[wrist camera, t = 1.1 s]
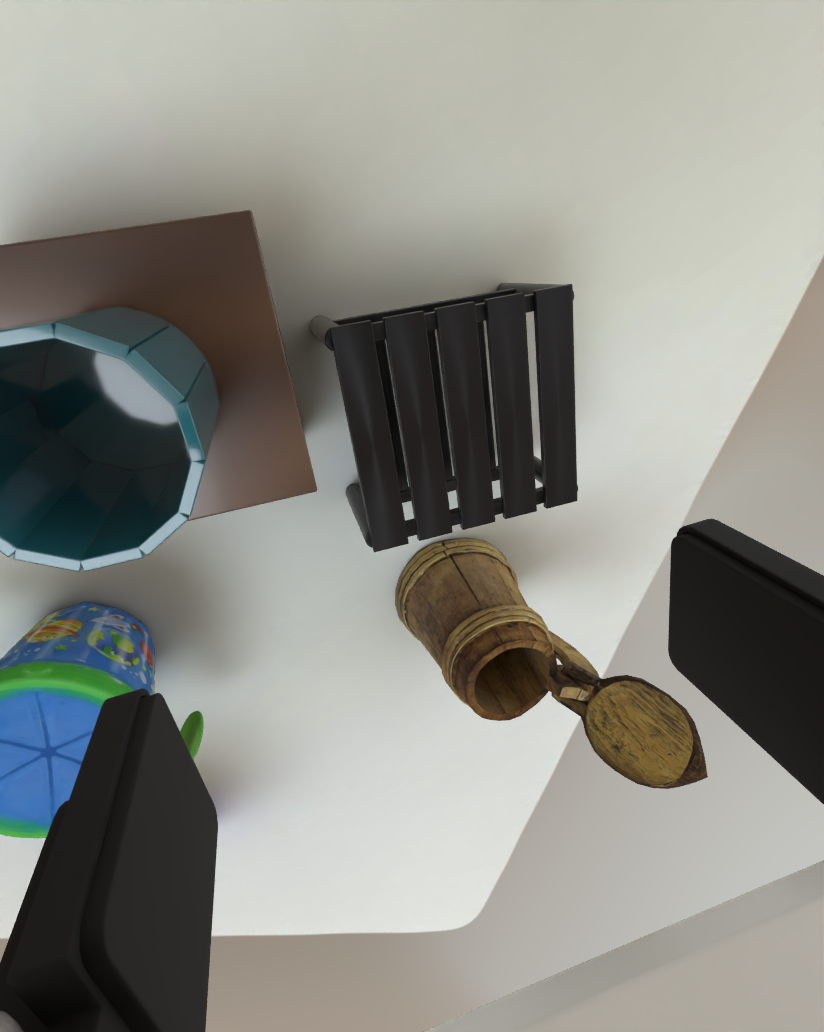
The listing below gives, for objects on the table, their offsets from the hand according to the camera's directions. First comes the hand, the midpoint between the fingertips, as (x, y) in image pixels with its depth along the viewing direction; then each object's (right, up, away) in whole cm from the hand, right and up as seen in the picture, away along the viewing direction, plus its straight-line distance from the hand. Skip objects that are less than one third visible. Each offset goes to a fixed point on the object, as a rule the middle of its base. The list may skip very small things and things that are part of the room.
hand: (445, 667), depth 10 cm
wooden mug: (+5, -3, +34) cm, 35 cm away
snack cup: (-22, -6, +28) cm, 36 cm away
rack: (0, +11, +27) cm, 29 cm away
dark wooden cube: (-15, +11, +22) cm, 29 cm away
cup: (-12, +8, +13) cm, 20 cm away
